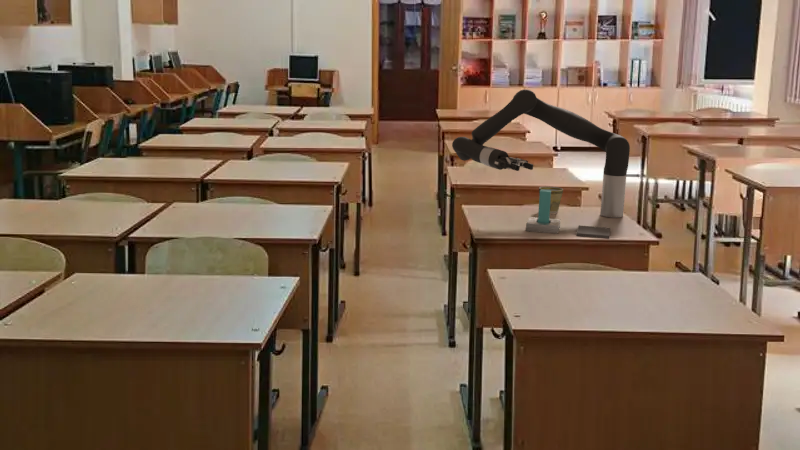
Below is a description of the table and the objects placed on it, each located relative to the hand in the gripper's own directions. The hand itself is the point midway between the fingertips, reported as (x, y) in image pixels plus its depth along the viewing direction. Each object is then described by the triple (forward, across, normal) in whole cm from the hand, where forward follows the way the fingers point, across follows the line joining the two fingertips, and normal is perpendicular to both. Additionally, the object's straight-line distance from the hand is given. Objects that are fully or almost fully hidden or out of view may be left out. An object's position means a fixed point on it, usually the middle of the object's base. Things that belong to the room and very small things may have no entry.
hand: (525, 167), depth 360 cm
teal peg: (+12, +1, +21) cm, 24 cm away
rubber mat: (+28, +11, +19) cm, 36 cm away
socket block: (+12, +1, +21) cm, 24 cm away
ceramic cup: (-6, +31, +22) cm, 39 cm away
